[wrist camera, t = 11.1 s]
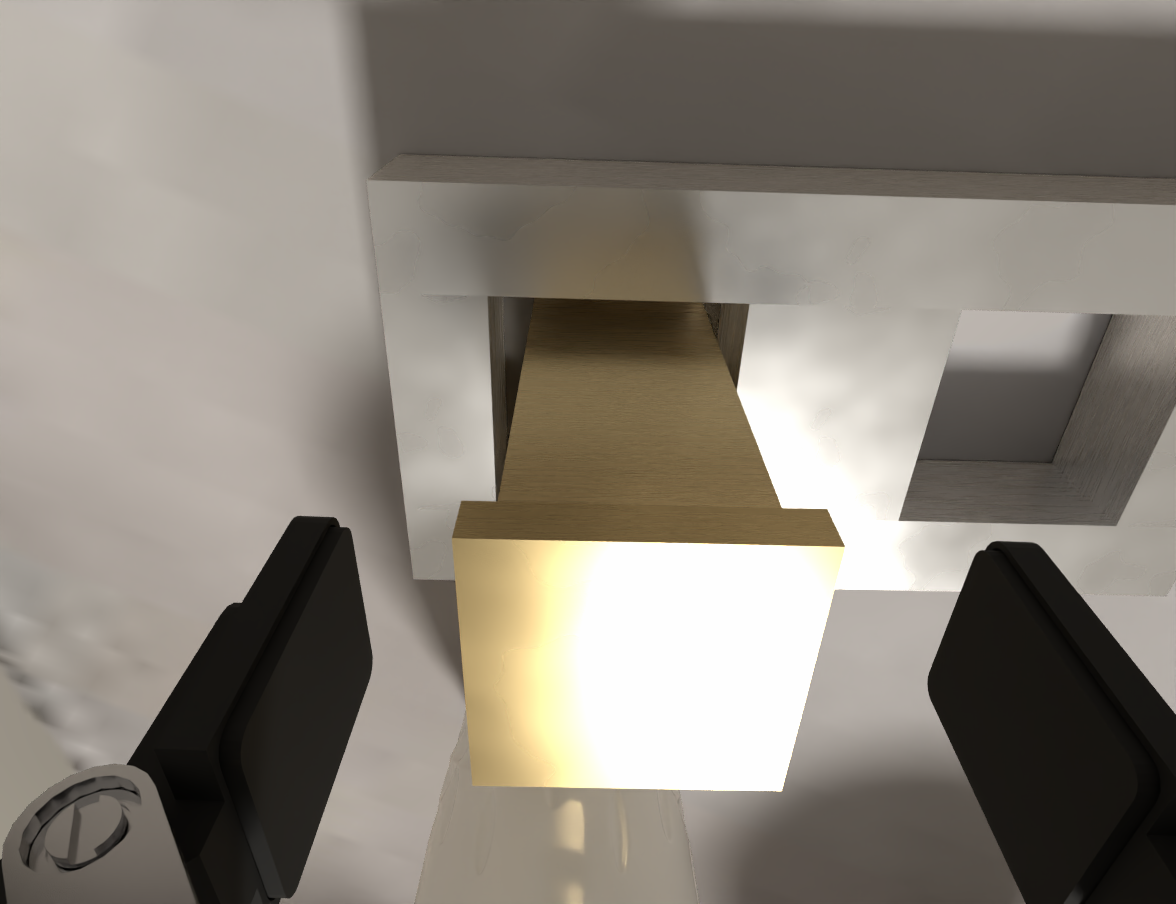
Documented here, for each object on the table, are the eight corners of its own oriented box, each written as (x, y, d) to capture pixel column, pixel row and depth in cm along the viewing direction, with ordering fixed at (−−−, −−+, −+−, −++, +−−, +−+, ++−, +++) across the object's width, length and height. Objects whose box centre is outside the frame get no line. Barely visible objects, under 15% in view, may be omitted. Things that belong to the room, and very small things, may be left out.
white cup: (467, 599, 24) (398, 932, 15) (703, 635, 25) (765, 970, 16) (442, 755, 28) (376, 1089, 19) (646, 781, 29) (671, 1113, 20)
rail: (1265, 181, 17) (1384, 211, 15) (1099, 528, 22) (1166, 596, 20) (399, 154, 17) (366, 179, 14) (433, 512, 22) (413, 579, 19)
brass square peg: (714, 274, 18) (846, 547, 9) (695, 442, 21) (781, 790, 12) (520, 269, 18) (451, 537, 9) (524, 438, 21) (472, 785, 11)
